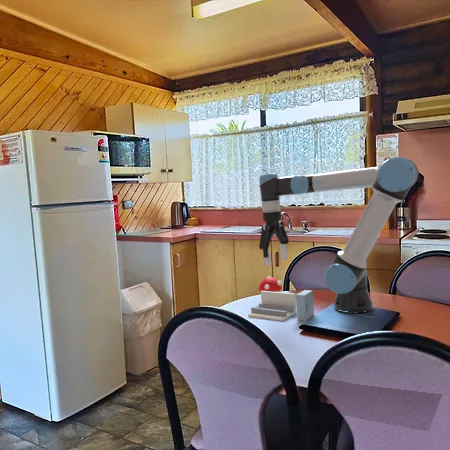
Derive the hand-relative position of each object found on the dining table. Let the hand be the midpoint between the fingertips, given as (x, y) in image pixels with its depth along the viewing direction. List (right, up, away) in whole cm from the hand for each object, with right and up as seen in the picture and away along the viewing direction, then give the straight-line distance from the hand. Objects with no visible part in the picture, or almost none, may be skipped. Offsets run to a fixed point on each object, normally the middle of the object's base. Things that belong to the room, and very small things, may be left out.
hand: (276, 262), depth 172 cm
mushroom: (0, -20, +17) cm, 26 cm away
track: (-2, -22, -1) cm, 22 cm away
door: (+11, -21, -7) cm, 25 cm away
